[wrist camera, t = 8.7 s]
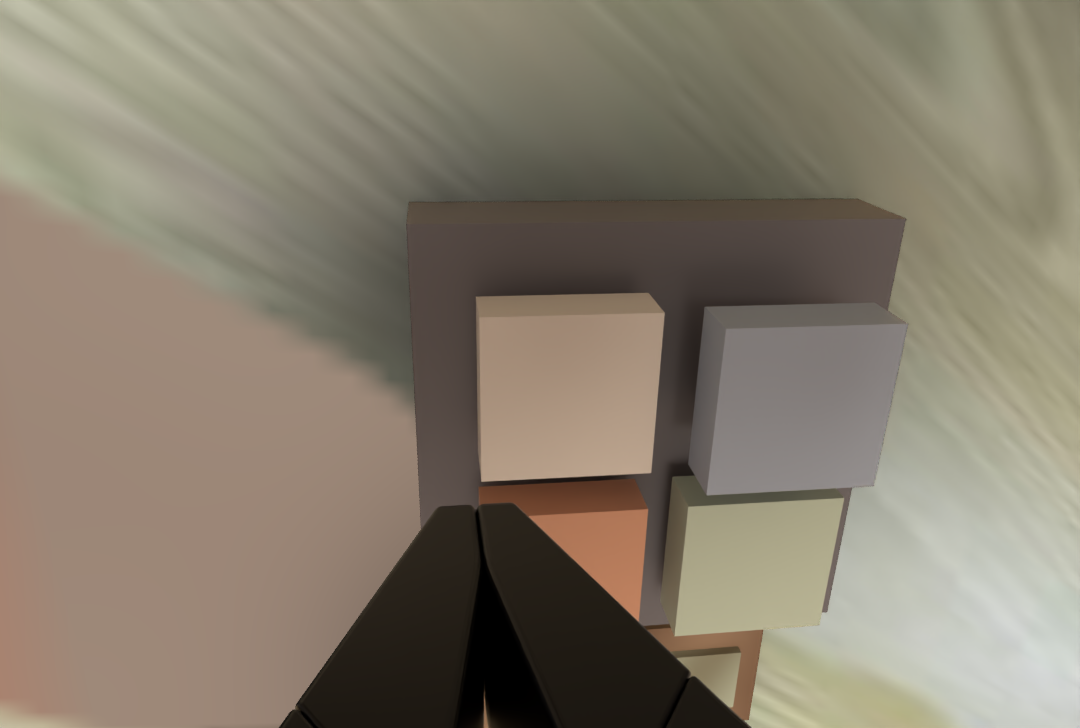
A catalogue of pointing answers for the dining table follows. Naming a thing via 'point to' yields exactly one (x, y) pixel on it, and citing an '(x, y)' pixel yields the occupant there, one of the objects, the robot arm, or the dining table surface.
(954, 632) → the dining table surface
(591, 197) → the dining table surface
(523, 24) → the dining table surface
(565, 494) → the rust key
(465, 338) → the keypad board
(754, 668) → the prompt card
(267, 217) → the dining table surface
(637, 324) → the cream key
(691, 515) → the sage key
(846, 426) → the slate-blue key
